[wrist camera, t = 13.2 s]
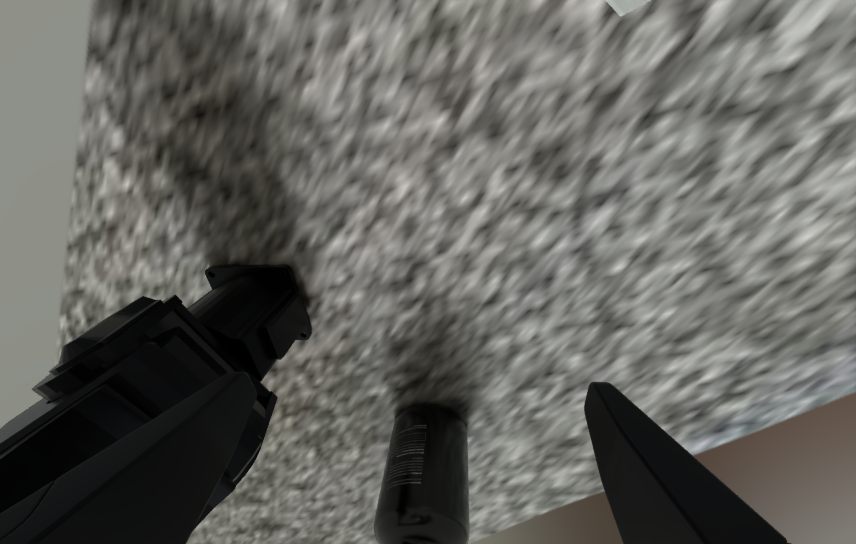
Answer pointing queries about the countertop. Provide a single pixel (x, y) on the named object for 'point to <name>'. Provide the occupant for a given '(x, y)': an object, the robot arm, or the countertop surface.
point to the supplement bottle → (425, 480)
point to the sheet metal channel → (625, 5)
